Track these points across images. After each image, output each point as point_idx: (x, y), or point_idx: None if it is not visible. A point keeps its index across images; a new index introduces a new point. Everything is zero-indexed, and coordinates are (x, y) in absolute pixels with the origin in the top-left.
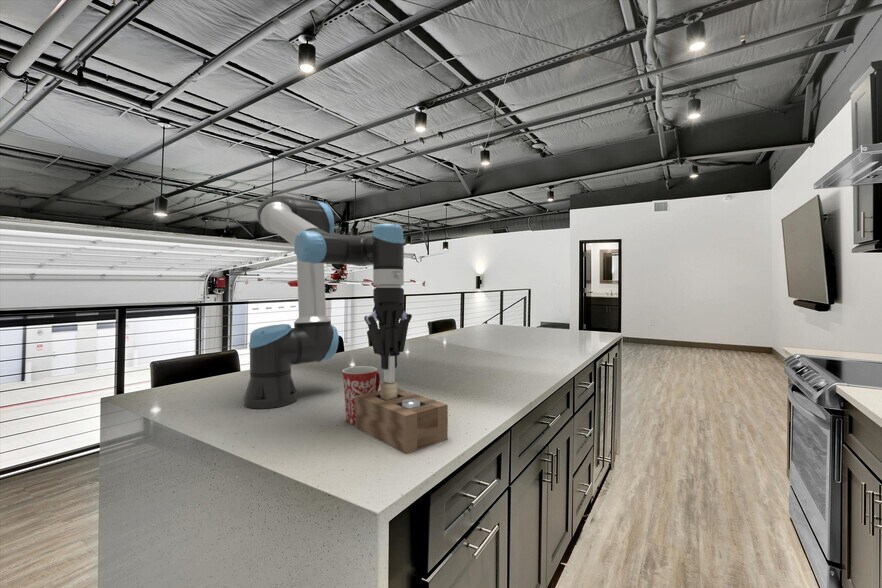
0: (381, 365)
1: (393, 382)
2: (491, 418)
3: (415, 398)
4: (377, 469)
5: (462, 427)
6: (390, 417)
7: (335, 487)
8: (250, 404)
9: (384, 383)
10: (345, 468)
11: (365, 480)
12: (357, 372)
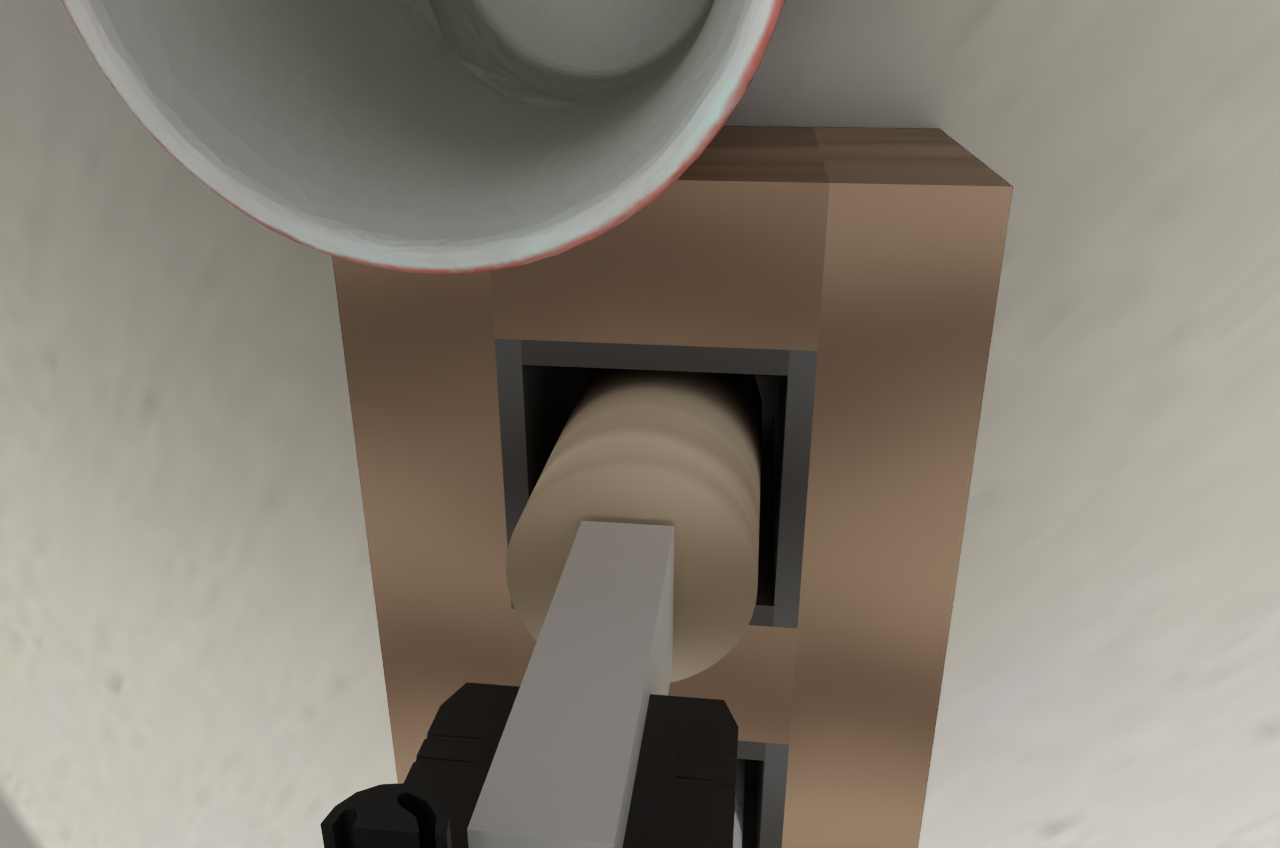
0: (433, 730)
1: (684, 617)
2: None
3: (817, 748)
4: (273, 795)
5: (1140, 748)
6: None
7: (38, 791)
8: None
9: (551, 574)
10: (131, 681)
11: (179, 832)
12: None
